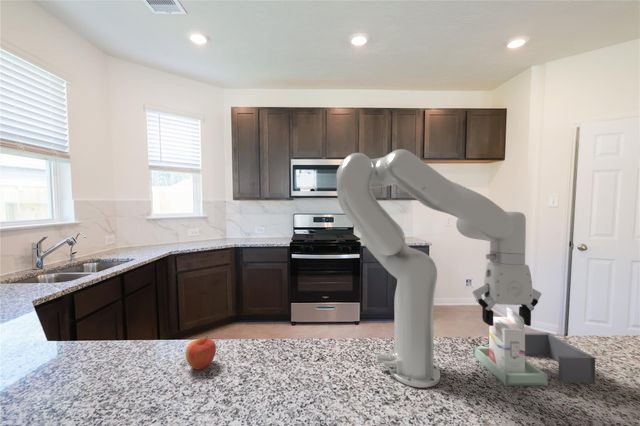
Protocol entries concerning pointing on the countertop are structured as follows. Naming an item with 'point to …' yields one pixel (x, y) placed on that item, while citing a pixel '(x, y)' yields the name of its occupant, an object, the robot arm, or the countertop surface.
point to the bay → (562, 357)
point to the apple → (200, 353)
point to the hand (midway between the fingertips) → (506, 323)
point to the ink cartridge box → (508, 342)
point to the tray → (528, 378)
